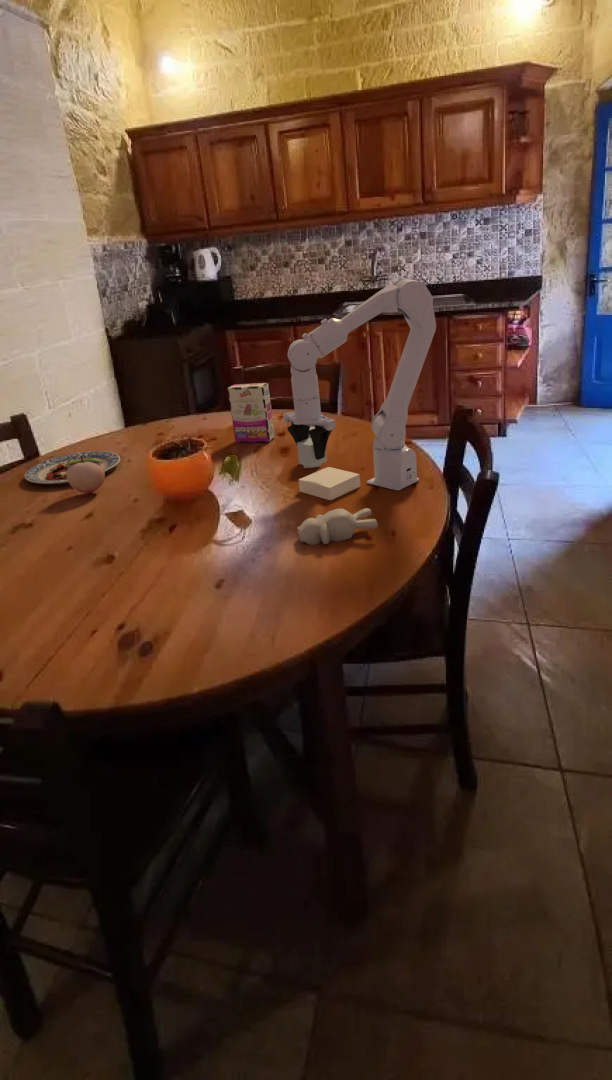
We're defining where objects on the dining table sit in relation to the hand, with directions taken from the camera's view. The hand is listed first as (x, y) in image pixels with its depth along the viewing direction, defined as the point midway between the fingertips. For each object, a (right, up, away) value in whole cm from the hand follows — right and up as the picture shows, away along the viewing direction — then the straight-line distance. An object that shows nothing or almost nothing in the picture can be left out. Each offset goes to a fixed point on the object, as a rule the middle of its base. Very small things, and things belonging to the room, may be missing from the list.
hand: (312, 456), depth 149 cm
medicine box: (0, +1, +22) cm, 22 cm away
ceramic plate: (-66, -1, +34) cm, 74 cm away
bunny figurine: (+5, -19, -20) cm, 28 cm away
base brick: (+4, -7, +4) cm, 9 cm away
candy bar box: (-16, +10, +46) cm, 50 cm away
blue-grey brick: (0, -1, +1) cm, 1 cm away
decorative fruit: (-56, -8, +16) cm, 58 cm away
